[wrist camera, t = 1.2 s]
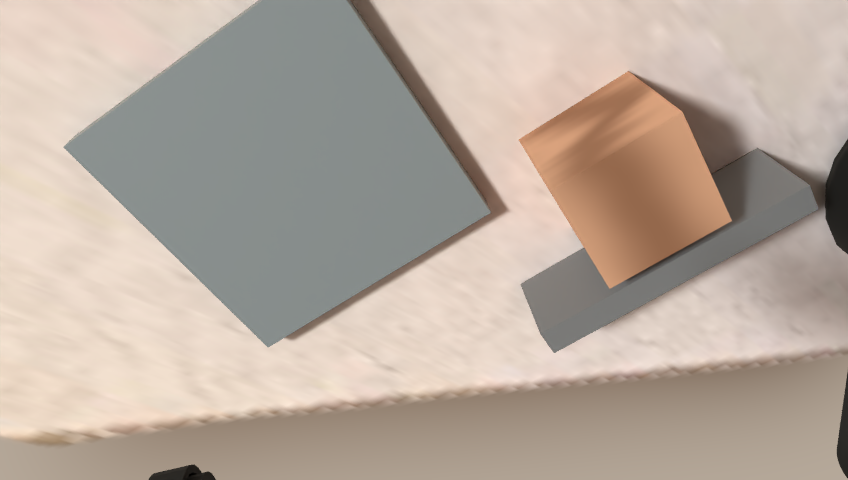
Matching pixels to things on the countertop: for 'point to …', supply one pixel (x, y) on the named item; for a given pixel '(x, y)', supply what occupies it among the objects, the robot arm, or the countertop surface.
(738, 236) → the grey long block
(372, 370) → the countertop surface
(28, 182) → the countertop surface
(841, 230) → the coffee jar
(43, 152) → the countertop surface
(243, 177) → the board
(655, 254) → the lettered block
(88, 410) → the countertop surface
